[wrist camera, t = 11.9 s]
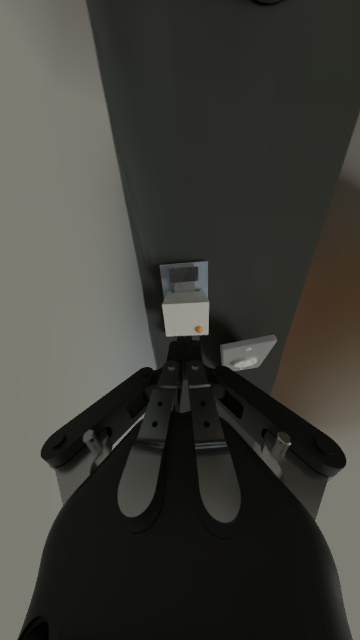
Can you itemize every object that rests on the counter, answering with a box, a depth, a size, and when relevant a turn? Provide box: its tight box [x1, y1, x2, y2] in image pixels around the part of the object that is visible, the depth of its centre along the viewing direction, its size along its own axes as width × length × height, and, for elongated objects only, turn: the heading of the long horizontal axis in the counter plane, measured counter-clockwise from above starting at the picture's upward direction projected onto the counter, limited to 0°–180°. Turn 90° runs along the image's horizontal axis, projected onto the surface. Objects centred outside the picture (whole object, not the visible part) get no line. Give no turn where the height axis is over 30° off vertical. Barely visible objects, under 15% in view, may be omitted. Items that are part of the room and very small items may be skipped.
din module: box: [162, 289, 209, 336], centre depth 22 cm, size 5×6×7 cm
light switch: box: [220, 335, 277, 371], centre depth 28 cm, size 8×6×14 cm
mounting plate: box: [160, 261, 208, 299], centre depth 26 cm, size 14×8×2 cm, turn 5°
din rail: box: [169, 264, 200, 341], centre depth 24 cm, size 14×4×3 cm, turn 4°
